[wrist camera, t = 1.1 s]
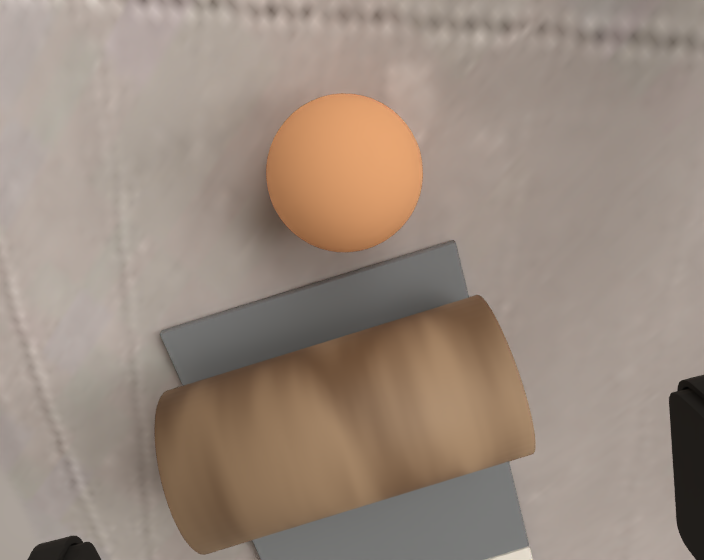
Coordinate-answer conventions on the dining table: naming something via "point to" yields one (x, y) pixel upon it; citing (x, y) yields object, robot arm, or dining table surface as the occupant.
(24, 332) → the dining table surface
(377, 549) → the throwing mat
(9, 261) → the dining table surface
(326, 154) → the ball
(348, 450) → the brown cylinder
